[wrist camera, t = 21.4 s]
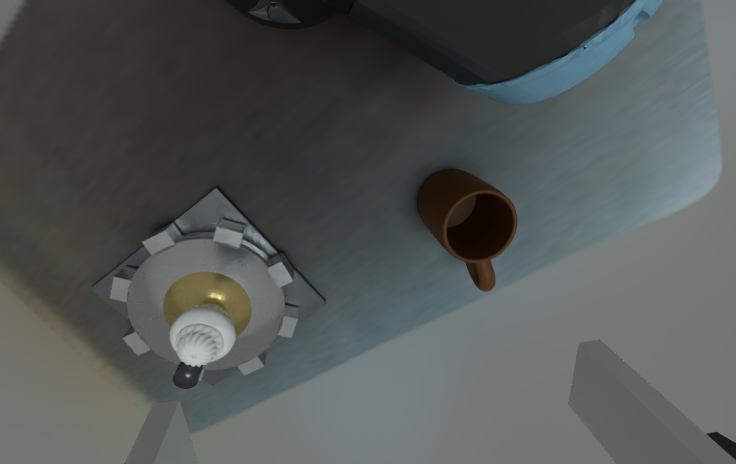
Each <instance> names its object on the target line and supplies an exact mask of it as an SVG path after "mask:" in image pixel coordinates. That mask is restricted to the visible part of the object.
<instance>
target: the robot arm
mask: <svg viewBox="0 0 736 464" xmlns="http://www.w3.org/2000/svg"><path fill="white" fill-rule="evenodd" d="M227 1H228V2H229V3H230V4H231V5H232V6H233V7H235V8H236V9H237V10H238V11H240V12H241V13H243V14H244V15H246V16H247V17H249V18H251V19H253V20H255V21H257V22H259V23H261V24H264V25H267V26H271V27H275V28H281V29H299V28H305V27H310V26H313V25H316V24H318V23H321V22H323V21H324V20H326V19H328V18H330V17H331V16H333V15H334V14H335V13H336V12H338V11H339V10H341V11H342V12H344V13H346V14H347V16H349V17H350V18H352V19H354V20H356V21H357V22H359V23H361V24H362V25H364V26H366V27H367V28H369V29H371V30H372V31H374V32H376V33H377V34H379V35H381V36H382V37H384V38H386V39H387V40H389V41H391V42H393V43H394V44H396V45H398V46H399V47H401V48H403V49H404V50H406V51H408V52H409V53H411V54H413V55H414V56H416V57H418V58H419V59H421V60H423V61H425V62H426V63H428V64H430V65H431V66H433V67H435V68H436V69H438V70H440V71H441V72H443V73H445V74H446V75H447V77H448V78H449V79H450V80H451V81H453V82H454V83H455V84H457V85H459V86H463V87H465V88H466V89H471V90H476V91H478V92H480V93H482V94H483V95H485V96H487V97H489V98H491V99H493V100H495V101H497V102H501V103H505V104H510V105H524V104H531V103H535V102H539V101H543V100H545V99H548V98H551V97H553V96H556V95H558V94H560V93H562V92H564V91H566V90H568V89H570V88H572V87H573V86H575V85H577V84H578V83H580V82H582V81H583V80H585V79H586V78H588V77H589V76H591V75H592V74H594V73H595V72H596V71H598V70H599V69H600V68H602V67H603V66H604V65H605V64H607V63H608V62H609V61H610V60H611V59H612V58H614V57H615V56H616V55H617V54H618V53H619V52H620V51H621V50H622V49H623V48H624V47H625V46H626V45H627V44H628V43H629V42H630V41H631V40H632V39H633V38H634V35H635V33H634V30H633V27H634V26H636V25H637V24H638V23H640V22H641V21H644V20H646V19H648V18H650V17H652V15H653V14H654V12H655V11H656V10H657V8H658V7H659V5H660V4H661V2H662V1H663V0H227ZM569 406H570V407H571V408H572V409H573V411H574V412H575V413H576V414H577V416H578V417H579V418H580V419H581V421H582V422H583V423H584V424H585V425H586V427H587V428H588V429H589V431H590V432H591V433H592V434H593V436H594V437H595V438H596V439H597V440H598V442H599V443H600V444H601V446H602V447H603V448H604V449H605V451H607V453H608V454H609V455H610V457H611V458H612V459H613V460H614V462H615V463H616V464H736V443H735V442H733V441H731V440H730V439H728V438H726V437H724V436H723V435H721V434H719V433H718V432H714V433H708V434H706V433H704V432H703V431H702V430H701V429H700V428H699V427H698V426H697V425H695V424H694V423H693V422H692V421H691V420H690V419H689V418H687V417H686V416H685V415H684V414H683V413H682V412H681V411H680V410H679V409H677V408H676V407H675V406H674V405H673V404H672V403H671V402H669V401H668V400H667V399H666V398H665V397H664V396H663V395H662V394H660V393H659V392H658V391H657V390H656V389H655V388H654V387H653V386H651V385H650V384H649V383H648V382H647V381H646V380H645V379H644V378H642V377H641V376H640V375H639V374H638V373H637V372H636V371H634V370H633V369H632V368H631V367H630V366H629V365H628V364H627V363H626V362H624V361H623V360H622V359H621V358H620V357H619V356H618V355H616V354H615V353H614V352H613V351H612V350H611V349H610V348H609V347H607V346H606V345H605V344H604V343H603V342H602V341H601V340H593V341H586V342H580V343H579V346H578V351H577V357H576V363H575V368H574V374H573V380H572V386H571V393H570V398H569ZM124 464H199V463H198V460H197V457H196V453H195V450H194V447H193V444H192V440H191V437H190V434H189V430H188V427H187V424H186V421H185V417H184V414H183V411H182V407H181V404H180V401H173V402H166V403H159V404H153V406H152V408H151V410H150V412H149V414H148V416H147V418H146V420H145V422H144V424H143V426H142V428H141V430H140V432H139V434H138V437H137V439H136V441H135V443H134V445H133V447H132V449H131V451H130V453H129V455H128V457H127V459H126V461H125V463H124Z"/></svg>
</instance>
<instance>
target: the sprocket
mask: <svg viewBox="0 0 736 464" xmlns="http://www.w3.org/2000/svg"><path fill="white" fill-rule="evenodd" d="M245 230H246V226H245V225H242V224H238V223H235V222H231V221H228V220H224V219H221V221H220V222H219V224H218V225H217V227H216V231H215V232H196V233H189V234H186V235H182V234H181V233H180V231H179V230H178V229H177V227H176V226H175V224H174V223H171V224H169V225H167V226H165V227H163V228H161V229H159V230H157V231H155V232H153V233H151V234H150V235H149V236H148V237H146V238H145V239H144V240H143V241H142V243H143V244H144V246H145V247H146V248H147V250H148V251H149V252H150V254H151V255H150V256H149V257H148V258H147V259H146V260H145V261H144V262H143V264H142V265H141V266H140V267H139V268H138V269H134V268H130V267H125V266H124V267H123V268H122V269H121V270H120V271H119V272H118V273H117V274H116V275H115V276H114V278H113V283H112V289H111V294H110V299H114V300H119V301H123V302H127V310H128V315H129V318H130V321H131V324H132V326H131V327H130V328H129V330H128V331H127V332H126V334H125V335H124V337H123V340H124V341H125V342H126V343H127V344H128V345H129V346H130V347H131V348H132V350H133V351H134V352H135V353H136V354H137V355H140V354H142V353H144V352H146V351H148V350H150V349H151V350H153V351H154V352H155V353H156V354H158V355H160V356H161V357H163V358H164V359H166V360H169V361H171V362H173V363H175V364H178V365H179V366H178V368H177V370H176V372H175V374H174V376H173V382H174V384H175V385H176V386H178V387H180V388H183V389H189V388H192V387H194V386H195V385H196V384H197V382H198V380H199V381H201V380H202V377H203V374H204V372H205V370H219V369H226V368H231V367H235V366H238V368H239V369H240V370H241V372H242V373H243V374H244V375H247V374H249V373H251V372H253V371H255V370H257V369H259V368H262V367H264V366H265V360H266V351H265V350H266V349H267V348H268V347H269V346H270V345H271V343H272V342H273V341H274V340H275V338H276V336H277V335H279V336H284V337H288V338H292V335H293V332H294V329H295V326H296V324H297V321H298V310H299V308H297V307H293V306H289V305H285V301H286V294H285V287H284V285H286V284H288V283H290V282H292V281H294V270H293V268H292V266H291V265H290V263H289V261H288V260H287V258H286V256H285V255H284V253H281V254H279V255H277V256H275V257H272V258H269V257H268V256H267V255H266V254H265V253H264V252H263V251H261V250H260V249H259V248H258V247H256V246H254V245H253V244H251V243H250V242H247V241H245V240H243V237H244V233H245ZM209 303H211V304H212V303H213V304H216V305H219V306H221V307H222V308H223V309H224V310H225V311H226V313H227V314H228V315H229V317H230V318H231V320H232V322H233V326H234V328H235V332H236V339H235V342H234V345H233V347H232V348H231V350H230V351H229V352H228V353H227V354H226V355H225V356H224V357H222V358H220V359H218V360H216V361H213V362H209V363H207V365H203V364H202V365H201V366H200V367H198V366H197V365H195V366H194V367H192V366H191V365H186V364H185V363H184V362H182V361H181V360H180V359H179V356H178V355H177V352H176V351H175V350H174V348H173V347H172V345H171V342H170V329H171V327H172V325H173V323H174V322H175V320H176V319H177V318H178V317H179V316H180V315H181V314H182V313H184V312H186V311H187V310H188V309H192V307H196V306H199V305H203V304H209Z"/></svg>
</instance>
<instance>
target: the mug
mask: <svg viewBox="0 0 736 464" xmlns="http://www.w3.org/2000/svg"><path fill="white" fill-rule="evenodd" d="M418 211H419V214H420V217H421V219H422V221H423V222H424V224H425V225H426V226H427V227H428V229H429V230H430V231H431V233H432V234H433V235H434V236H435V238H436V239H437V240H438V241H439V243H440V244H441V245H442V246H443V247H444V248H445V249H446V250H447V251H448V252H449V253H450V254H451V255H453V256H454V257H455V258H457V259H459V260H461V261H464V262H466V266H467V269H468V271H469V274H470V276H471V278H472V280H473V282H474V283H475V285H476V286H477V287H478V288H479V289H480V290H482V291H485V292H486V291H490V290H492V289H493V287H494V286H495V273H494V270H493V267H492V264H491V261H490V260H491V259H493V258H495V257H496V256H498V255H499V254H501V253H502V252H503V251H504V250H505V249H506V248H507V247H508V245H509V244H510V243H511V241H512V239H513V237H514V235H515V232H516V228H517V214H516V210H515V207H514V205H513V204H512V202H511V201H510V199H509V198H507V197H506V196H505V195H504V194H503V193H501V192H500V191H499V190H498V189H496V188H495V187H493V186H491V185H489V184H488V183H486V182H484V181H482V180H481V179H479V178H477V177H475V176H473V175H471V174H469V173H467V172H465V171H462V170H457V169H449V170H444V171H441V172H438V173H436V174H435V175H433V176H432V177H430V178H429V179H428V180H427V181H426V183H425V184H424V185H423V187H422V189H421V191H420V193H419V197H418Z"/></svg>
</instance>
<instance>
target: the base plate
mask: <svg viewBox="0 0 736 464" xmlns="http://www.w3.org/2000/svg"><path fill="white" fill-rule="evenodd" d="M221 219H224V220H228V221H231V222H235V223H238V224H242V225H245V226H246V230H245V233H244V237H243V240H245V241H247V242H250V243H251V244H253V245H254V246H256V247H258V248H259V249H260V250H261V251H263V252H264V253H265V254H266V255H267V256H268V257H269V258H272V257H275V256H277V255H279V254H281V252H280V251H279V250H278V249H277V248H276V247H275V246H274V245H273V244H272V243H271V242H270V241H269V240H268V238H267V237H266V236H265V235H264V234H263V233H262V232H261V231H260V230H259V229H258V228H257V227H256V226H255V225H254V224H253V223H252V222H251V221H250V220H249V219H248V217H247V216H246V215H245V214H244V213H243V212H242V211H241V210H240V209H239V208H238V207H237V206H236V205H235V204H234V203H233V202H232V201H231V200H230V199H229V198H228V196H227V195H226V194H225V193H224V192H223V191H222V190H221V189H220V188H219V187H218V186H217V187H216V188H215V189H214V190H212V191H211V192H210V193H209V194H207V195H206V196H205V197H204V198H202V199H201V200H200V201H199V202H197V203H196V204H195V205H194V206H192V207H191V208H190V209H189V210H187V211H186V212H185V213H184V214H183V215H181V216H180V217H179V218H178V219H176V220H175V221H174V222H173V223H174V224H175V226H176V227H177V229H178V230H179V231H180V233H181V234H182V235H186V234H189V233H196V232H215V231H216V227H217V225H218V224H219V222H220V221H221ZM150 255H151V254H150V252H149V251H148V250H147V248H146V247H145V246H143V247H141V248H140V249H139V250H138V251H136V252H135V253H134V254H133V255H131V256H130V257H129V258H128V259H126V260H125V261H124V262H123V263H121V264H120V265H119V266H118V267H116V268H115V269H114V270H113V271H111V272H110V273H109V274H108V275H106V276H105V277H104V278H103V279H101V280H100V281H99V282H98V283H96V284H95V285H94V286H93V287H92V288H91V289H90V290H91V291H92V292H94V293H95V294H96V295H98V296H99V297H100V298H101V299H103V300H104V301H105V302H106V303H108V304H109V305H110V306H111V307H113V308H114V309H115V310H117V311H118V312H119V313H120V314H122V315H123V316H124V317H125V318H127V319H128V320H129V321H130V318H129V315H128V310H127V302H123V301H119V300H114V299H110V294H111V289H112V283H113V278H114V276H115V275H116V274H117V273H118V272H119V271H120V270H121V269H122V268H123V267H124V266H125V267H130V268H134V269H138V268H139V267H140V266H141V265H142V264H143V262H144V261H145V260H146V259H147V258H148V257H149V256H150ZM289 263H290V262H289ZM290 265H291V266H292V268H293V270H294V281H292V282H290V283H288V284H286V285H284V287H285V294H286V301H285V305H289V306H293V307H297V308H299V310H298V321H297V324H298V323H299V322H301V321H302V320H303V319H305V318H306V317H308V316H309V315H310V314H312V313H313V312H314V311H316V310H317V309H318V308H320V307H321V306H323V305H324V304H325V303H326V299H325V298H324V297H323V296H322V295H321V294H320V293H319V292H318V291H317V290H316V289H315V288H314V287H313V286H312V285H311V284H310V283H309V282H308V281H307V279H306V278H305V277H304V276H303V275H302V274H301V273H300V272H299V271H298V270H297V269H296V268H295V267H294V266H293V265H292V264H291V263H290ZM297 324H296V325H297ZM279 337H280V336H279V335H277V336H276V338H275V340H276V339H277V338H279ZM275 340H274V341H275ZM236 368H238V366H235V367H231V368H226V369H219V370H205V372H204V374H203V377H202V378H203V379H204V380H205V381H207V382H208V383H209V384H211V385H212V386H213V385H214V384H216V383H217V382H218V381H220V380H221V379H223V378H224V377H225V376H227V375H228V374H229V373H231V372H232V371H234V370H235V369H236Z"/></svg>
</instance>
